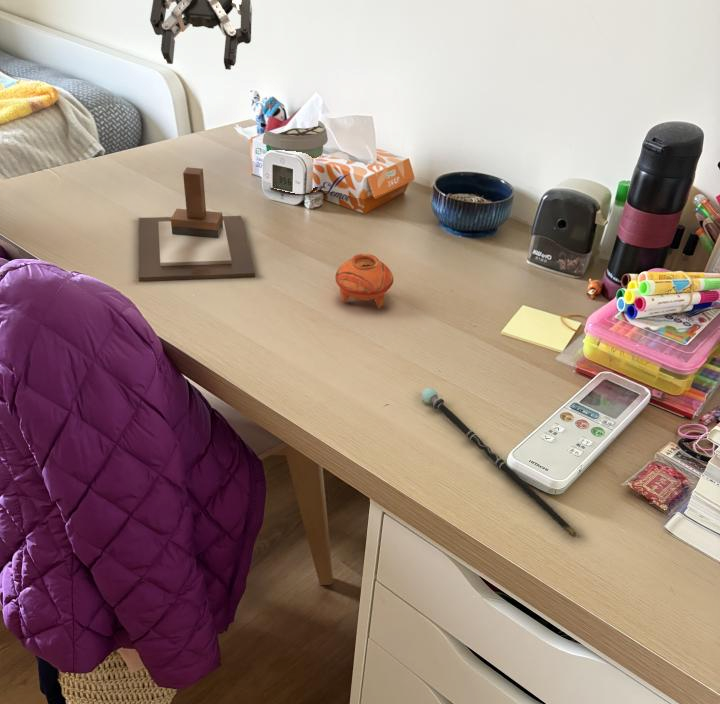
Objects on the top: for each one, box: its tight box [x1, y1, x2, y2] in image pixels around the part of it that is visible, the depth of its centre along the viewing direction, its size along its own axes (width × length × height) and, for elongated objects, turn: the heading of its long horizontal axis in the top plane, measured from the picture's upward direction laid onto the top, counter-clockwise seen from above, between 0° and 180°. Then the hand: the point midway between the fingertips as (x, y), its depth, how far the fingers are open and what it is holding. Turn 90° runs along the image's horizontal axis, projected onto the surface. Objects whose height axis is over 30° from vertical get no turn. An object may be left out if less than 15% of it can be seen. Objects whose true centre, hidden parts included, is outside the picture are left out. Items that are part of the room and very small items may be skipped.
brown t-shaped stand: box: [171, 166, 224, 238], centre depth 106 cm, size 7×4×9 cm, turn 88°
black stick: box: [421, 387, 577, 536], centre depth 76 cm, size 2×25×2 cm
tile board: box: [138, 215, 256, 282], centre depth 107 cm, size 16×20×1 cm
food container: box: [262, 120, 329, 196], centre depth 124 cm, size 12×6×10 cm, turn 129°
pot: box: [334, 253, 394, 309], centre depth 98 cm, size 8×8×7 cm
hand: (197, 63), depth 104 cm, fingers open, 8 cm apart
